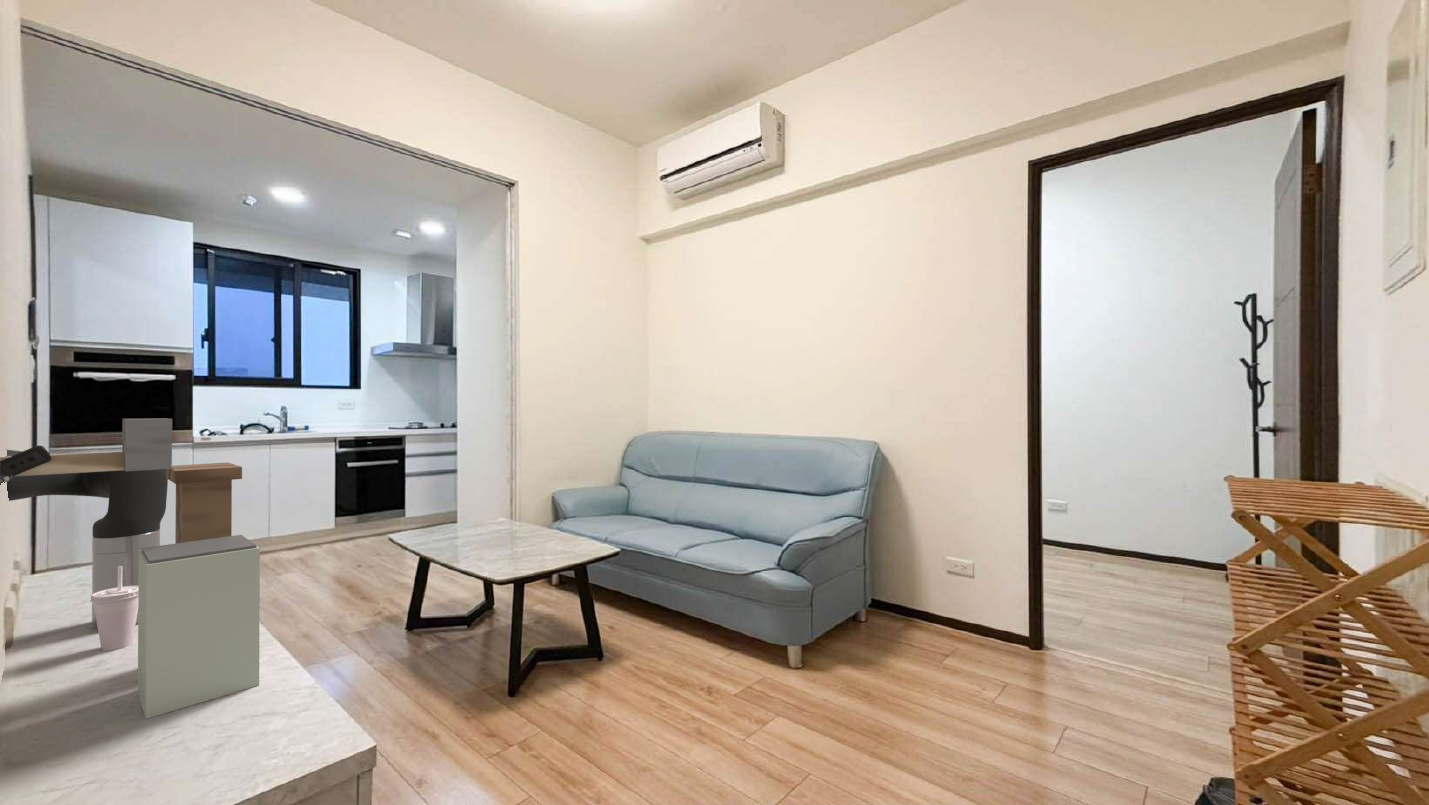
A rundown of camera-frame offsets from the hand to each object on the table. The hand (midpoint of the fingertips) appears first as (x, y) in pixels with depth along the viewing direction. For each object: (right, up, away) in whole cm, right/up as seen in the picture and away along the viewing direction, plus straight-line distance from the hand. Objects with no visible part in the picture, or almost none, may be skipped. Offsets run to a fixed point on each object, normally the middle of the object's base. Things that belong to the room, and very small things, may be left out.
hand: (46, 452), depth 72 cm
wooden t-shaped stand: (+1, -36, +21) cm, 42 cm away
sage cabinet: (+10, -36, +11) cm, 39 cm away
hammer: (+1, -3, +2) cm, 4 cm away
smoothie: (-19, -37, +26) cm, 49 cm away
